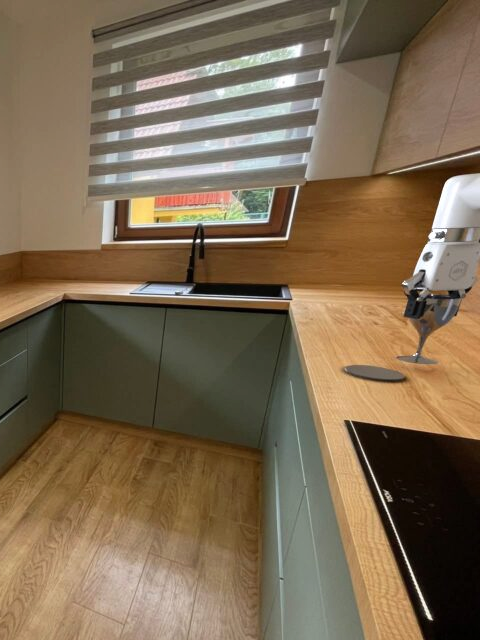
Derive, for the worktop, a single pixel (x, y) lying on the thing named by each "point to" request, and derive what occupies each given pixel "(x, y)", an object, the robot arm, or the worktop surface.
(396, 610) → the worktop surface
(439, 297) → the wine glass
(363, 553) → the worktop surface
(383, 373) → the coaster
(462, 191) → the robot arm
